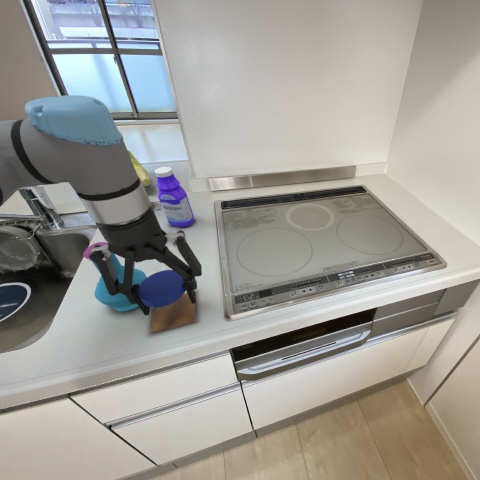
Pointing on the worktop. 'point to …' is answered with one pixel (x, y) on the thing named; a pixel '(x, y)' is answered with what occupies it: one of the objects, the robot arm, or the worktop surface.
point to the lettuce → (140, 171)
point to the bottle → (173, 198)
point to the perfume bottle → (119, 300)
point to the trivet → (173, 314)
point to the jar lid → (161, 289)
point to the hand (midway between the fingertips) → (171, 304)
